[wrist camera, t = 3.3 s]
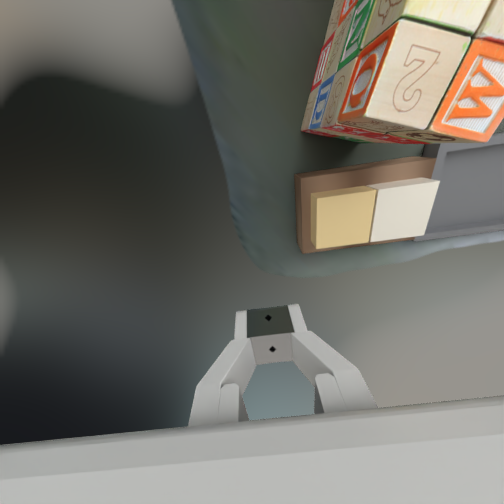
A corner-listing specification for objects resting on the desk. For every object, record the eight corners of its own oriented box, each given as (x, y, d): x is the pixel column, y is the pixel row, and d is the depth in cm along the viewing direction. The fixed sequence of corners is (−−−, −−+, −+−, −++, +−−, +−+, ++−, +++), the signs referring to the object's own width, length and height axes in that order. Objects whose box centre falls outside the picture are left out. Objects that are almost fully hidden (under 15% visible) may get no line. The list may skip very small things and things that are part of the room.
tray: (589, 118, 19) (620, 115, 17) (533, 218, 24) (553, 223, 22) (425, 143, 20) (440, 143, 18) (403, 235, 24) (413, 241, 23)
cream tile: (421, 177, 18) (440, 180, 17) (409, 227, 21) (424, 235, 19) (366, 185, 19) (378, 189, 17) (360, 234, 21) (370, 242, 19)
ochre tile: (364, 185, 19) (376, 189, 17) (358, 234, 21) (368, 242, 19) (310, 193, 19) (317, 198, 17) (310, 240, 21) (316, 249, 20)
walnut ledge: (412, 156, 20) (436, 158, 18) (396, 228, 24) (414, 239, 21) (294, 174, 21) (300, 178, 18) (296, 242, 25) (302, 253, 22)
